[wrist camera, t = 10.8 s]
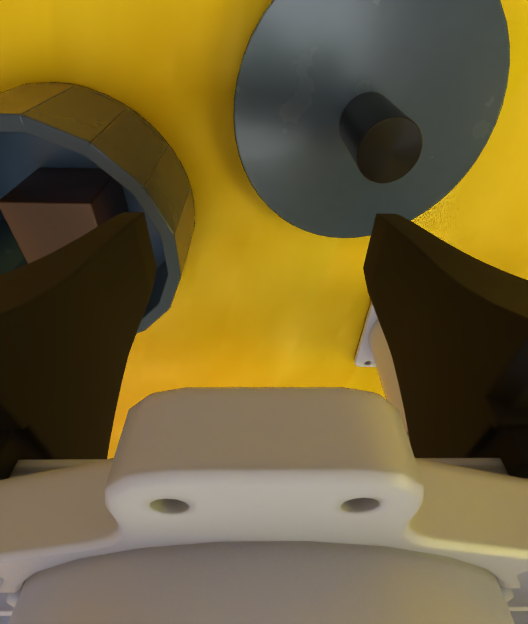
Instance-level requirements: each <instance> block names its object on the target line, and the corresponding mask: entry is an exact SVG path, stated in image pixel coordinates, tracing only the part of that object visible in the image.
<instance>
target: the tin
mask: <svg viewBox="0 0 528 624" xmlns="http://www.w3.org/2000/svg"><path fill="white" fill-rule="evenodd" d="M38 168H92V169H102V170H104V171H105V172H106V173H107V174H109V175H110V176H111V177H112V178H114V179H115V180H116V181H117V182H119V183H120V184H121V185H122V188H123V192H124V196H125V200H126V204H127V208H128V212H144V213H145V218H146V222H147V226H148V231H149V235H150V240H151V244H152V248H153V253H154V257H155V261H156V266H157V269H156V274H155V280H154V284H153V289H152V293H151V296H150V299H149V301H148V304H147V307H146V309H145V312H144V315H143V317H142V320H141V322H140V325H139V328H138V330H137V333H139V332H142V331H144V330H146V329H147V328H148V327H149V326H150V325H152V324H153V323H154V322H155V321H156V320H157V319H158V318H160V317H161V316H162V315H163V314H164V313H165V312H167V311H168V310H169V308H170V307H171V304H172V301H173V298H174V296H175V293H176V290H177V287H178V284H179V281H180V278H181V275H182V272H183V268H184V264H185V260H186V257H187V253H188V249H189V246H190V242H191V238H192V234H193V231H194V227H195V219H194V216H195V213H194V200H193V195H192V189H191V186H190V183H189V180H188V177H187V175H186V173H185V170H184V168H183V166H182V164H181V162H180V161H179V159H178V157H177V156H176V154H175V152H174V151H173V149H172V148H171V147H170V145H169V144H168V143H167V142H166V140H165V139H164V138H163V136H162V135H161V134H160V133H159V132H158V131H157V130H156V129H155V128H154V127H153V126H152V125H151V124H150V123H149V122H147V121H146V120H145V119H144V118H143V117H141V116H140V115H139V114H138V113H137V112H135V111H134V110H132V109H131V108H129V107H128V106H126V105H125V104H123V103H121V102H120V101H118V100H116V99H114V98H112V97H110V96H108V95H106V94H103V93H101V92H98V91H95V90H93V89H90V88H87V87H83V86H78V85H74V84H68V83H57V82H49V83H36V84H23V85H20V86H18V87H15V88H13V89H10V90H8V91H5V92H3V93H1V94H0V199H1V198H3V197H4V196H5V195H6V194H7V193H9V192H10V191H11V190H12V189H13V188H15V187H16V186H17V185H18V184H20V183H21V182H22V181H23V180H24V179H26V178H27V177H28V176H29V175H31V174H32V173H33V172H34V171H35V170H37V169H38ZM27 264H28V263H27V261H26V259H25V257H24V255H23V253H22V251H21V249H20V247H19V245H18V243H17V241H16V239H15V237H14V235H13V233H12V231H11V229H10V227H9V225H8V223H7V221H6V219H5V217H4V216H3V214H2V212H1V210H0V275H1V274H4V273H7V272H10V271H12V270H15V269H17V268H20V267H22V266H24V265H27Z"/></svg>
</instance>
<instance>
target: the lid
mask: <svg viewBox="0 0 528 624" xmlns="http://www.w3.org/2000/svg"><path fill="white" fill-rule="evenodd" d="M509 66H510V43H509V36H508V29H507V22H506V18H505V15H504V12H503V8H502V5H501V1H500V0H272V2H271V3H270V5H269V6H268V7H267V9H266V10H265V12H264V13H263V14H262V16H261V18H260V20H259V22H258V24H257V26H256V27H255V29H254V31H253V33H252V35H251V37H250V40H249V42H248V45H247V48H246V50H245V53H244V55H243V58H242V62H241V66H240V70H239V73H238V77H237V83H236V90H235V97H234V129H235V139H236V143H237V148H238V153H239V156H240V159H241V162H242V165H243V168H244V171H245V173H246V175H247V177H248V179H249V181H250V183H251V185H252V186H253V188H254V189H255V190H256V192H257V193H258V195H259V196H260V198H261V199H262V200H263V201H264V202H265V203H266V204H267V206H268V207H269V208H270V209H272V210H273V211H274V212H275V213H276V214H277V215H278V216H280V217H281V218H283V219H284V220H286V221H287V222H289V223H290V224H292V225H294V226H296V227H298V228H300V229H302V230H305V231H308V232H311V233H314V234H317V235H322V236H327V237H337V238H354V237H363V236H369V235H371V233H372V229H373V225H374V221H375V216H376V213H380V214H398V215H400V216H402V217H404V218H406V219H408V220H410V221H411V220H413V219H414V218H416V217H418V216H419V215H421V214H422V213H424V212H425V211H427V210H428V209H430V208H431V207H432V206H434V205H435V204H436V203H438V202H439V201H440V200H441V199H442V198H443V197H445V196H446V195H447V194H448V193H449V192H450V191H451V190H452V189H453V188H454V187H455V186H456V185H457V184H458V183H459V181H460V180H461V179H462V178H463V177H464V176H465V175H466V173H467V172H468V171H469V169H470V168H471V167H472V165H473V164H474V163H475V161H476V160H477V158H478V157H479V155H480V153H481V152H482V150H483V148H484V147H485V145H486V143H487V141H488V139H489V137H490V135H491V133H492V131H493V129H494V127H495V125H496V122H497V119H498V116H499V113H500V111H501V108H502V105H503V100H504V96H505V92H506V88H507V82H508V74H509Z"/></svg>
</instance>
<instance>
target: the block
mask: <svg viewBox="0 0 528 624" xmlns="http://www.w3.org/2000/svg"><path fill="white" fill-rule="evenodd" d="M0 210H1V212H2V214H3V216H4V217H5V219H6V221H7V223H8V225H9V227H10V229H11V231H12V233H13V235H14V237H15V239H16V241H17V243H18V245H19V247H20V249H21V251H22V253H23V255H24V257H25V259H26V261H27V263H28V264H29V263H31V262H34V261H36V260H38V259H40V258H42V257H44V256H46V255H48V254H50V253H52V252H54V251H56V250H58V249H60V248H61V247H63V246H65V245H67V244H69V243H71V242H72V241H74V240H76V239H78V238H80V237H81V236H83V235H85V234H86V233H88V232H89V231H91V230H93V229H94V228H96V227H98V226H99V225H101V224H103V223H104V222H106V221H108V220H109V219H111V218H113V217H115V216H117V215H119V214H121V213H123V212H128V208H127V204H126V200H125V196H124V192H123V188H122V185H121V184H120V183H119V182H117V181H116V180H115V179H114V178H112V177H111V176H110V175H109V174H107V173H106V172H105V171H104V170H102V169H92V168H38V169H37V170H35V171H34V172H33V173H32V174H31V175H29V176H28V177H27V178H26V179H24V180H23V181H22V182H21V183H20V184H18V185H17V186H16V187H15V188H13V189H12V190H11V191H10V192H9V193H7V194H6V195H5V196H4V197H3V198H1V199H0Z"/></svg>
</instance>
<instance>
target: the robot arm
mask: <svg viewBox="0 0 528 624" xmlns="http://www.w3.org/2000/svg"><path fill="white" fill-rule="evenodd" d="M156 269H157V266H156V261H155V257H154V253H153V248H152V244H151V240H150V235H149V231H148V226H147V222H146V218H145V213H144V212H123V213H121V214H119V215H117V216H115V217H113V218H111V219H109V220H108V221H106V222H104V223H103V224H101V225H99V226H98V227H96V228H94V229H93V230H91V231H89V232H88V233H86V234H85V235H83V236H81V237H80V238H78V239H76V240H74V241H72V242H71V243H69V244H67V245H65V246H63V247H61V248H60V249H58V250H56V251H54V252H52V253H50V254H48V255H46V256H44V257H42V258H40V259H38V260H36V261H34V262H31V263H29V264H27V265H24V266H22V267H20V268H17V269H15V270H12V271H10V272H7V273H4V274H1V275H0V624H528V280H525V279H522V278H520V277H517V276H514V275H512V274H509V273H507V272H504V271H502V270H500V269H497V268H495V267H493V266H491V265H488V264H486V263H484V262H482V261H479V260H477V259H475V258H473V257H471V256H470V255H468V254H466V253H464V252H462V251H460V250H458V249H456V248H455V247H453V246H451V245H449V244H448V243H446V242H444V241H442V240H441V239H439V238H437V237H436V236H434V235H433V234H431V233H429V232H428V231H426V230H424V229H423V228H421V227H420V226H418V225H416V224H415V223H413V222H411V221H410V220H408V219H406V218H404V217H402V216H400V215H398V214H380V213H376V216H375V221H374V225H373V229H372V233H371V238H370V242H369V246H368V250H367V254H366V259H365V263H364V267H363V269H364V274H365V280H366V285H367V289H368V293H369V296H370V299H371V304H370V308H369V311H368V315H367V318H366V321H365V325H364V328H363V332H362V335H361V339H360V342H359V345H358V349H357V352H356V356H355V359H354V362H355V365H356V366H359V367H376V368H377V371H378V374H379V377H380V381H381V384H382V387H383V390H384V393H385V397H386V399H384V398H383V397H382V396H381V395H379V394H376V393H373V392H368V391H362V390H356V389H350V388H344V387H186V388H180V389H174V390H168V391H162V392H156V393H153V394H150V395H148V396H147V397H146V398H144V399H143V400H142V401H140V402H139V403H138V404H136V405H135V406H133V407H132V408H131V409H129V411H128V415H127V418H126V421H125V424H124V427H123V431H122V434H121V437H120V440H119V444H118V447H117V450H116V453H115V456H114V458H112V459H107V455H108V449H109V443H110V437H111V432H112V427H113V421H114V416H115V411H116V406H117V401H118V397H119V392H120V387H121V383H122V379H123V375H124V371H125V367H126V363H127V358H128V355H129V352H130V349H131V346H132V343H133V341H134V338H135V335H136V333H137V330H138V328H139V325H140V322H141V320H142V317H143V315H144V312H145V309H146V307H147V304H148V301H149V299H150V296H151V293H152V289H153V284H154V280H155V274H156Z"/></svg>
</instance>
